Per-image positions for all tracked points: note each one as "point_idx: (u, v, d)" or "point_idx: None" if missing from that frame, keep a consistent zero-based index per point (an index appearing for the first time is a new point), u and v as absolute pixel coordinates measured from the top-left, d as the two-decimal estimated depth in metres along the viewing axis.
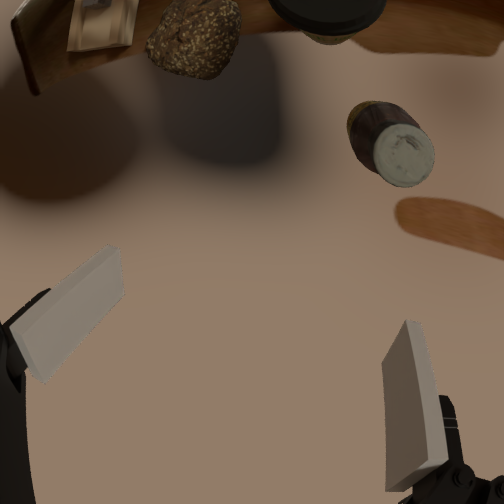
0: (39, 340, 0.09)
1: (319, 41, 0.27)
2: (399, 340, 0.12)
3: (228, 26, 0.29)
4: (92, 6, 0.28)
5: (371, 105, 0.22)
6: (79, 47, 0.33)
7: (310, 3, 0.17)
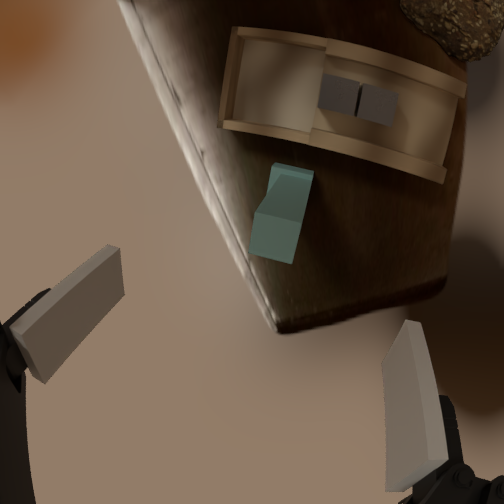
0: (39, 340, 0.09)
1: None
2: (399, 340, 0.12)
3: None
4: None
5: None
6: (438, 165, 0.25)
7: None
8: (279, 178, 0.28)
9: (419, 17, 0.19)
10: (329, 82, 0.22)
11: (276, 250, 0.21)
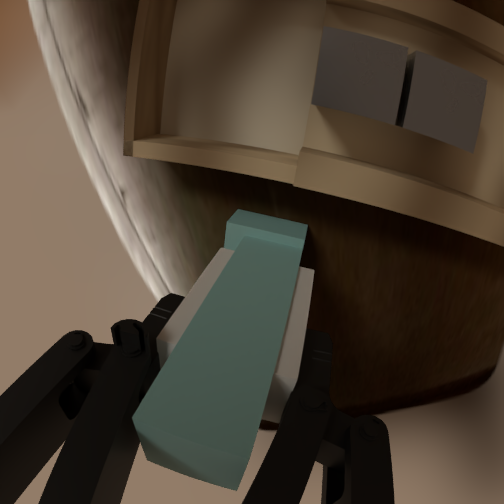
0: None
1: None
2: None
3: None
4: None
5: None
6: None
7: None
8: (236, 253, 0.14)
9: None
10: (338, 46, 0.09)
11: (200, 473, 0.07)
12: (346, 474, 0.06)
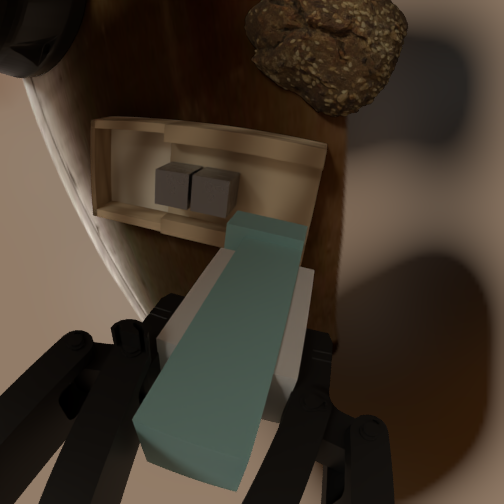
0: None
1: None
2: None
3: None
4: (230, 200, 0.25)
5: None
6: None
7: None
8: (236, 254, 0.14)
9: (272, 74, 0.22)
10: (161, 178, 0.24)
11: (200, 474, 0.07)
12: (346, 474, 0.06)
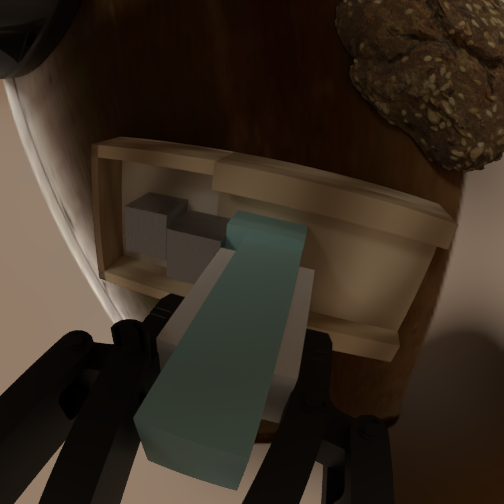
0: None
1: None
2: None
3: None
4: None
5: None
6: (391, 331, 0.19)
7: None
8: (237, 254, 0.14)
9: (382, 100, 0.14)
10: None
11: (200, 473, 0.07)
12: (346, 474, 0.06)
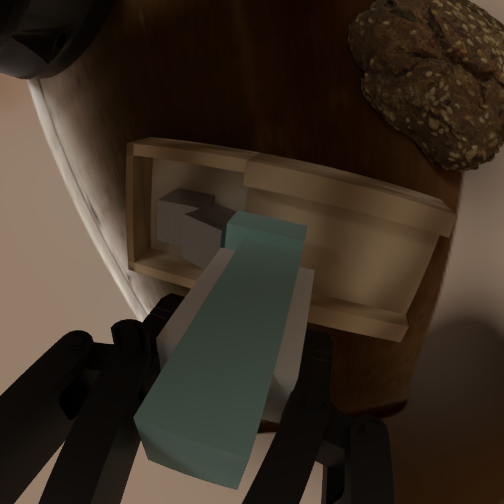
0: None
1: None
2: None
3: None
4: None
5: None
6: (400, 314, 0.21)
7: None
8: (236, 254, 0.14)
9: (389, 109, 0.16)
10: None
11: (200, 472, 0.07)
12: (346, 474, 0.06)
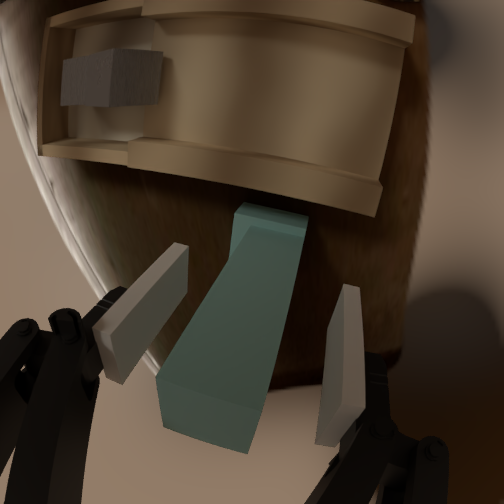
0: (123, 339, 0.10)
1: None
2: (338, 303, 0.14)
3: None
4: (127, 83, 0.13)
5: None
6: (370, 178, 0.14)
7: None
8: (244, 240, 0.16)
9: None
10: None
11: (214, 435, 0.09)
12: (407, 491, 0.06)
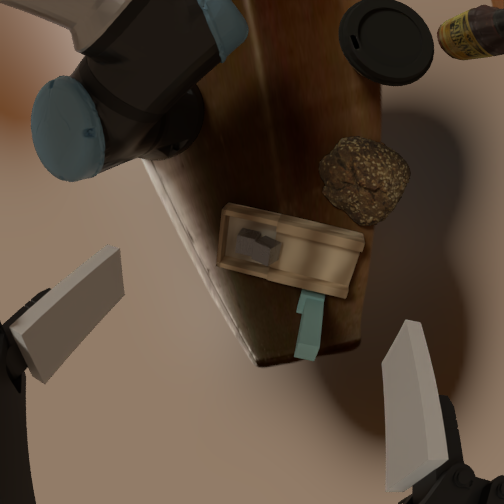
0: (39, 340, 0.09)
1: None
2: (399, 340, 0.12)
3: (370, 147, 0.38)
4: (272, 257, 0.47)
5: (474, 33, 0.20)
6: (345, 286, 0.48)
7: (416, 52, 0.21)
8: (306, 304, 0.50)
9: (333, 202, 0.44)
10: None
11: (307, 356, 0.43)
12: None
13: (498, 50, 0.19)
